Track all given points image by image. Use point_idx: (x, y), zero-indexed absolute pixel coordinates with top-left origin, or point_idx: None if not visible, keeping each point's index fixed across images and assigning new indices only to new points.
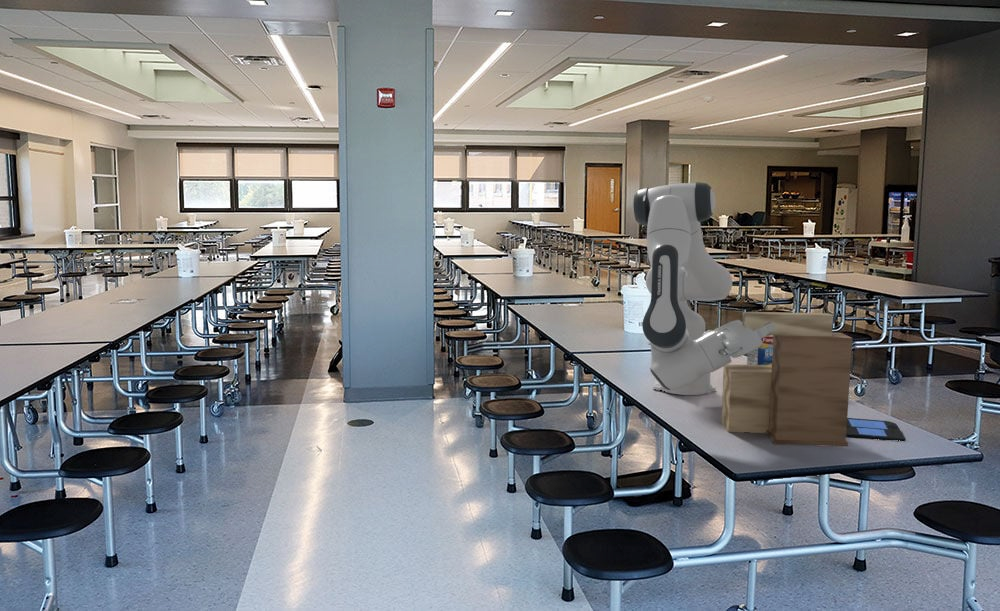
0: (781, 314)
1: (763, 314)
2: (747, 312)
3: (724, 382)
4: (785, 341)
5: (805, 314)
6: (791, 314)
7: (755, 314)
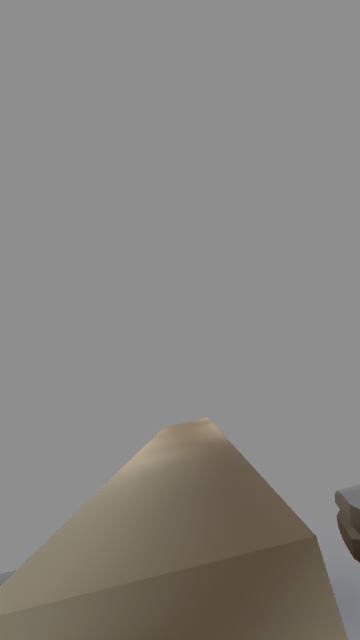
0: (219, 437)
1: (243, 460)
2: (76, 556)
3: None
4: None
5: (200, 426)
6: (210, 431)
7: (265, 482)
